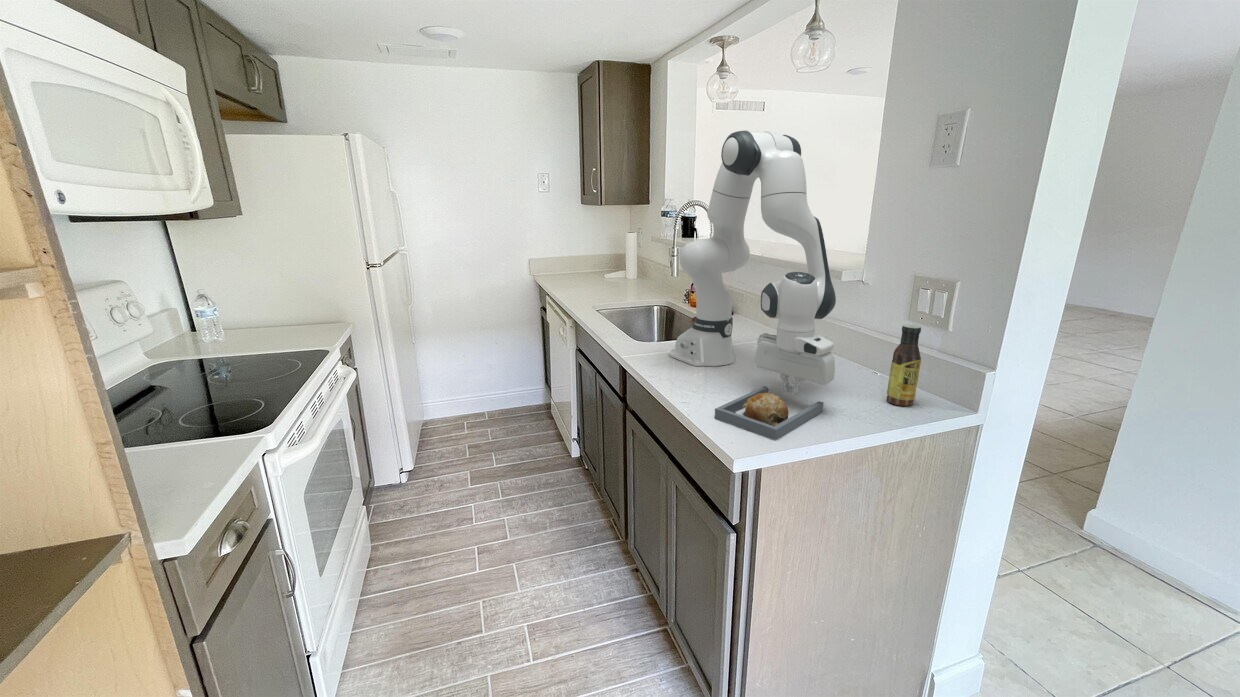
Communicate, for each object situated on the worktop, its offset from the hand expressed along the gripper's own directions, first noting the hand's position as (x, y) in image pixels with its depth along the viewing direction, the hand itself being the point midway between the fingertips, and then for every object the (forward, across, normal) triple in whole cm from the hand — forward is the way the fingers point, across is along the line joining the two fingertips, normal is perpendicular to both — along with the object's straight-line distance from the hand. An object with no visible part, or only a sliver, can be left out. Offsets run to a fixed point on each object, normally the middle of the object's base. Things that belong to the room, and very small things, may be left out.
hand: (790, 391), depth 129 cm
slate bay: (+3, +1, -10) cm, 10 cm away
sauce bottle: (+3, +19, +20) cm, 28 cm away
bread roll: (+3, +1, -12) cm, 13 cm away
